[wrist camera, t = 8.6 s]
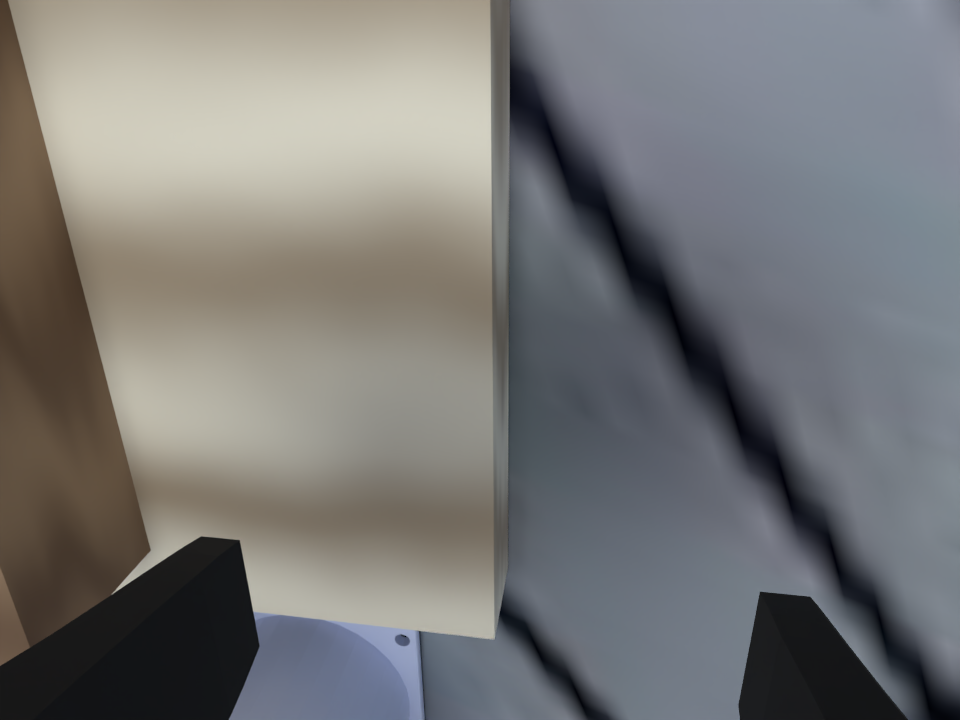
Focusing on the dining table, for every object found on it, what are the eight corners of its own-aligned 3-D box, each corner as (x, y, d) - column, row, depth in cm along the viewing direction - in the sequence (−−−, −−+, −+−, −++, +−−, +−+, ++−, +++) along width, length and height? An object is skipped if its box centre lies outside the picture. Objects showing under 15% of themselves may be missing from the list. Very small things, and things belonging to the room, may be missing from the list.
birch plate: (507, 568, 23) (494, 639, 20) (136, 531, 25) (79, 591, 22) (510, -208, 14) (488, -265, 12) (-46, -170, 16) (-174, -211, 14)
